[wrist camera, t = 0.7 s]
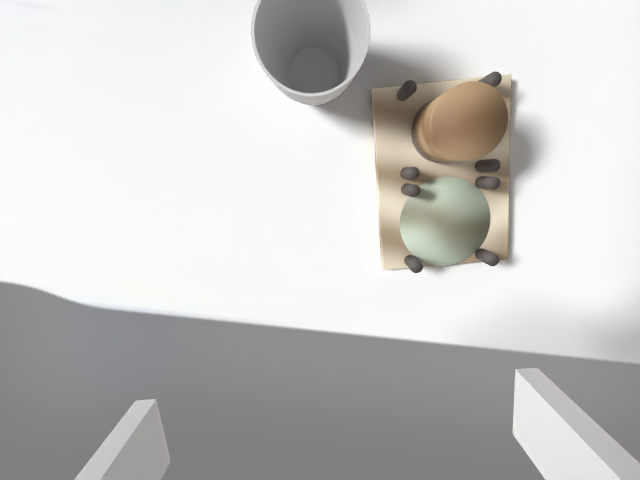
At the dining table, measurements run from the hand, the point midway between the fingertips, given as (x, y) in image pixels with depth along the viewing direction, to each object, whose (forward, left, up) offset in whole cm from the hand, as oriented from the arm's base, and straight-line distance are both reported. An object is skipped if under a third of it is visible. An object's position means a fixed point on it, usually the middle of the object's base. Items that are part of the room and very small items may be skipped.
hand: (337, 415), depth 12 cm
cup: (-18, 0, -25) cm, 30 cm away
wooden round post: (-12, +12, -23) cm, 29 cm away
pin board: (-7, +12, -24) cm, 28 cm away
